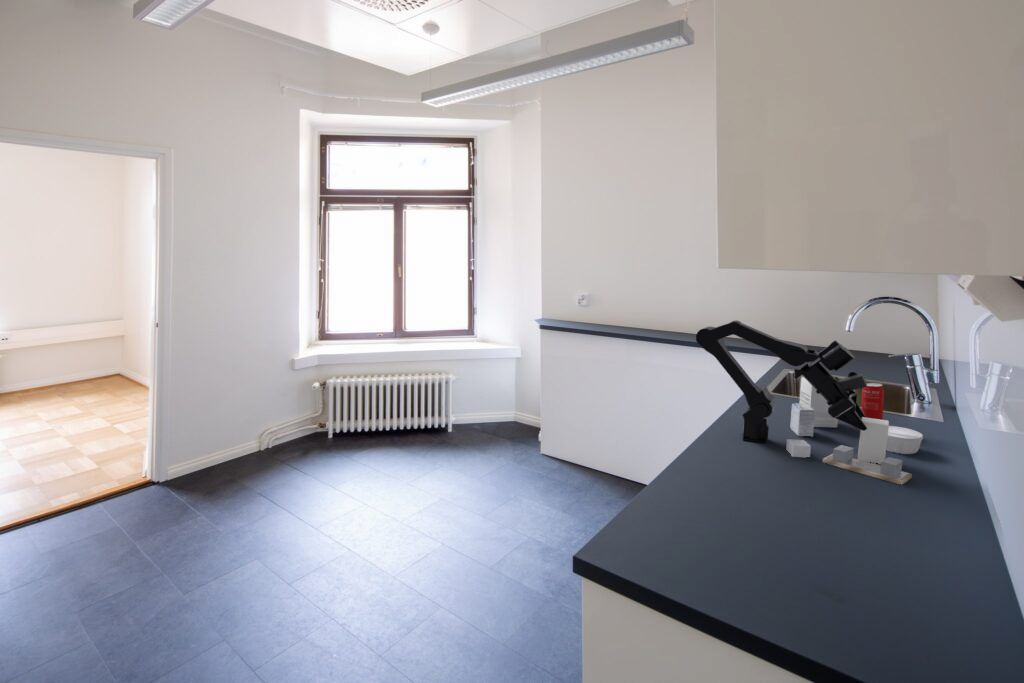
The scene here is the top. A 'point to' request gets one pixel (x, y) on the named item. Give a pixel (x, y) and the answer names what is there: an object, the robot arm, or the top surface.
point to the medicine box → (802, 419)
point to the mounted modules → (887, 465)
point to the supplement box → (816, 405)
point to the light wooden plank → (868, 467)
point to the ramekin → (903, 440)
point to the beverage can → (873, 400)
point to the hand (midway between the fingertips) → (865, 425)
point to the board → (868, 472)
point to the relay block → (798, 448)
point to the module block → (873, 440)
